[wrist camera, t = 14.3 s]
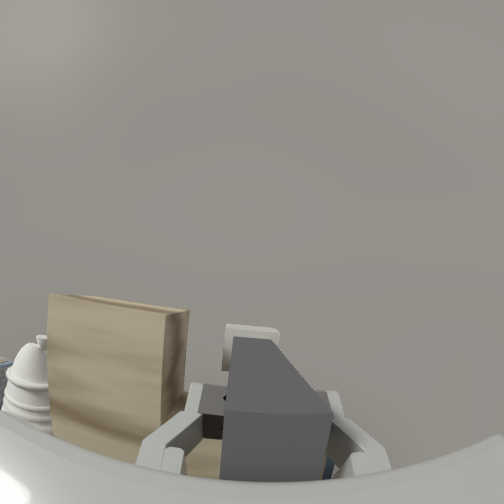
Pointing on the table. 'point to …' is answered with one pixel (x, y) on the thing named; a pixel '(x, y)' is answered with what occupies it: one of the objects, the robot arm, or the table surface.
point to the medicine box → (3, 376)
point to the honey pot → (29, 386)
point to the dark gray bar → (269, 412)
